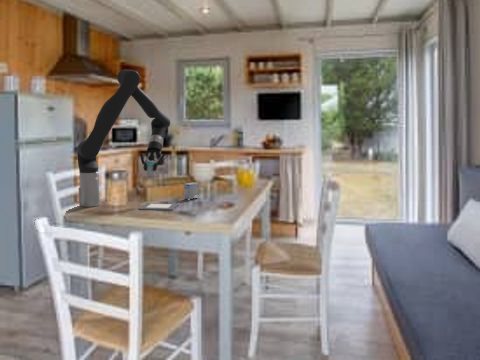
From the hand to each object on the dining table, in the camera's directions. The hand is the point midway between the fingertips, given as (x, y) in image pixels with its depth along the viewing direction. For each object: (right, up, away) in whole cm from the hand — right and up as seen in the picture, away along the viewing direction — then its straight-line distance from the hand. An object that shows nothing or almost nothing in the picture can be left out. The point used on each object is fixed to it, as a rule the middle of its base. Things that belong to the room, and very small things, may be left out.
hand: (149, 170), depth 237 cm
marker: (0, -4, +3) cm, 5 cm away
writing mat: (+6, -19, -6) cm, 21 cm away
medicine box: (+20, -16, +18) cm, 31 cm away
